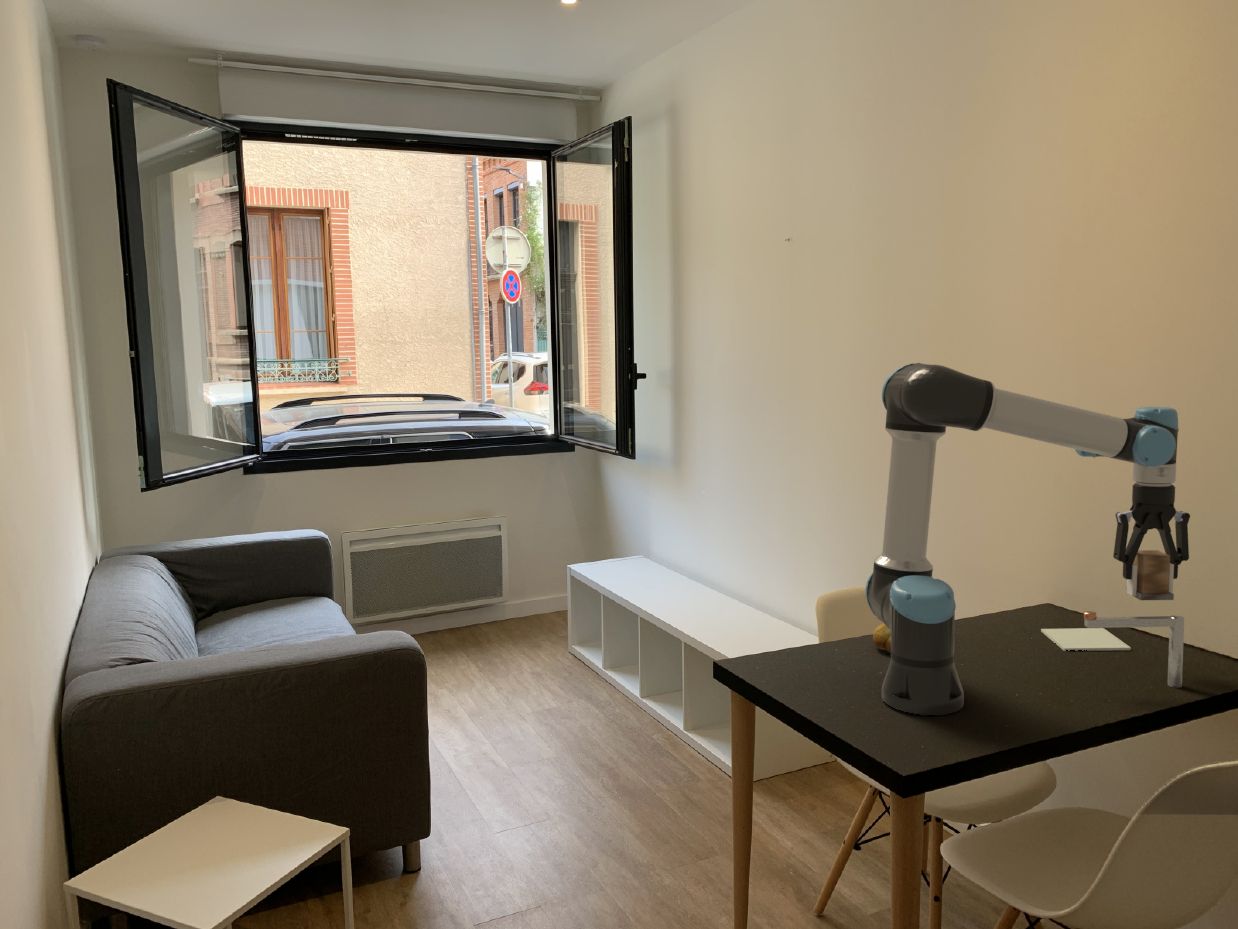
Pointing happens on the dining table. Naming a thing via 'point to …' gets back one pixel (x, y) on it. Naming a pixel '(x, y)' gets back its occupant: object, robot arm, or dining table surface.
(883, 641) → the bread roll
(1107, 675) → the dining table surface
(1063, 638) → the sage mat
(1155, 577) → the brown boxy piece
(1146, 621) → the grey l-shaped handle
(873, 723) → the dining table surface
